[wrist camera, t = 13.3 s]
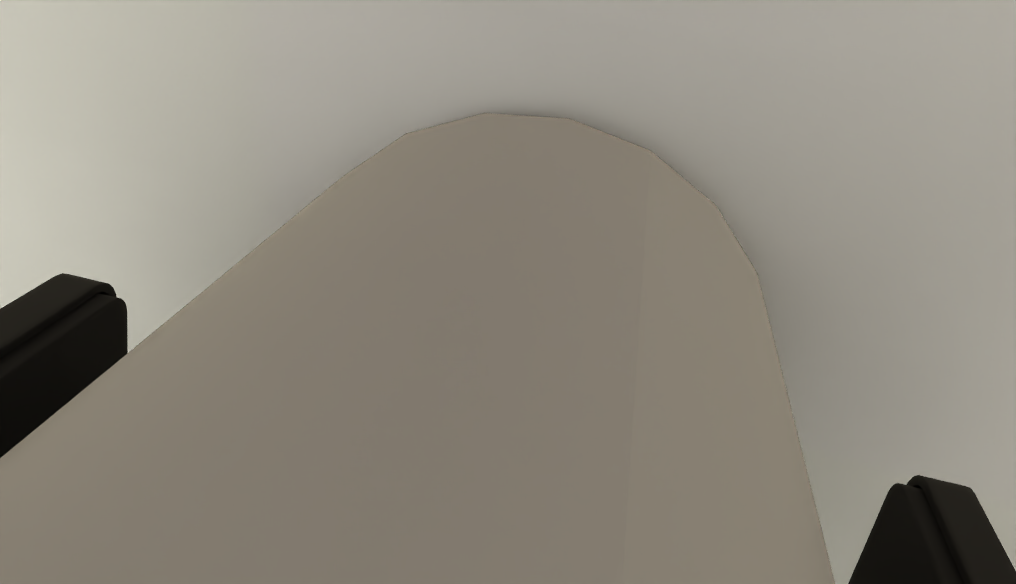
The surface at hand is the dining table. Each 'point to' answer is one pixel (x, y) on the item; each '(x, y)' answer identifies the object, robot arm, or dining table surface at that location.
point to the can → (443, 393)
